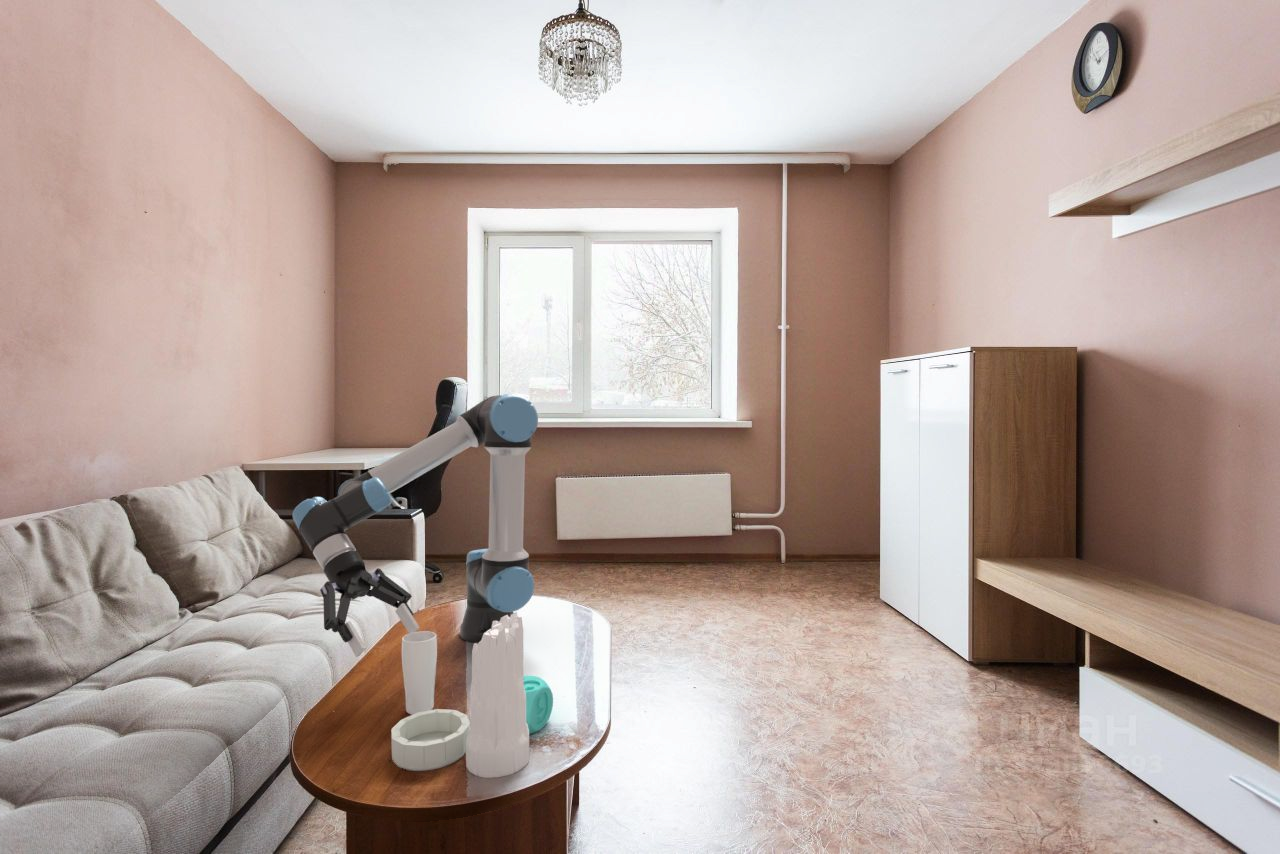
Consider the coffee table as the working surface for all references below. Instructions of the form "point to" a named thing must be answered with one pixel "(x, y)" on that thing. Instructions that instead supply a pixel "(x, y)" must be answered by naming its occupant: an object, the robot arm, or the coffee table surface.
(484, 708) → the decorative vase
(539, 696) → the decorative dice
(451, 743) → the dish
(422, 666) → the drinking glass
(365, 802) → the coffee table surface
